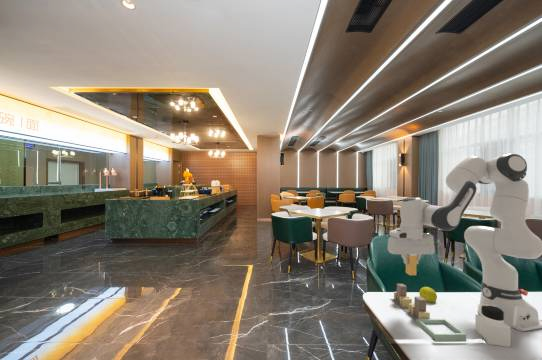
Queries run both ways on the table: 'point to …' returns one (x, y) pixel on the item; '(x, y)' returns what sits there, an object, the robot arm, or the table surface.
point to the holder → (410, 304)
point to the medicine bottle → (493, 326)
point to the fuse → (411, 264)
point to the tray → (443, 337)
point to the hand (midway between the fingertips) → (411, 263)
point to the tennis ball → (428, 294)
